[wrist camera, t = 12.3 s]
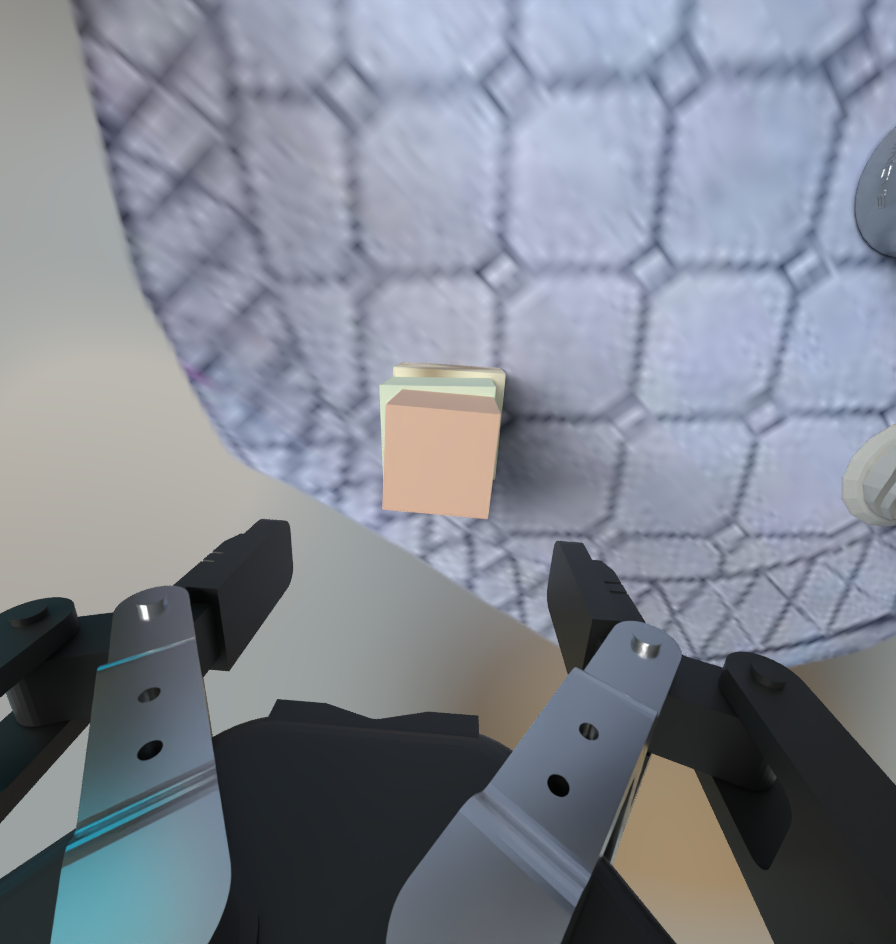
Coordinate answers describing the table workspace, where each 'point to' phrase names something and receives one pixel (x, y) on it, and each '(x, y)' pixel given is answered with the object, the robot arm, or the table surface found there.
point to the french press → (873, 480)
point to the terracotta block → (440, 453)
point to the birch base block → (457, 371)
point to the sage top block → (434, 385)
